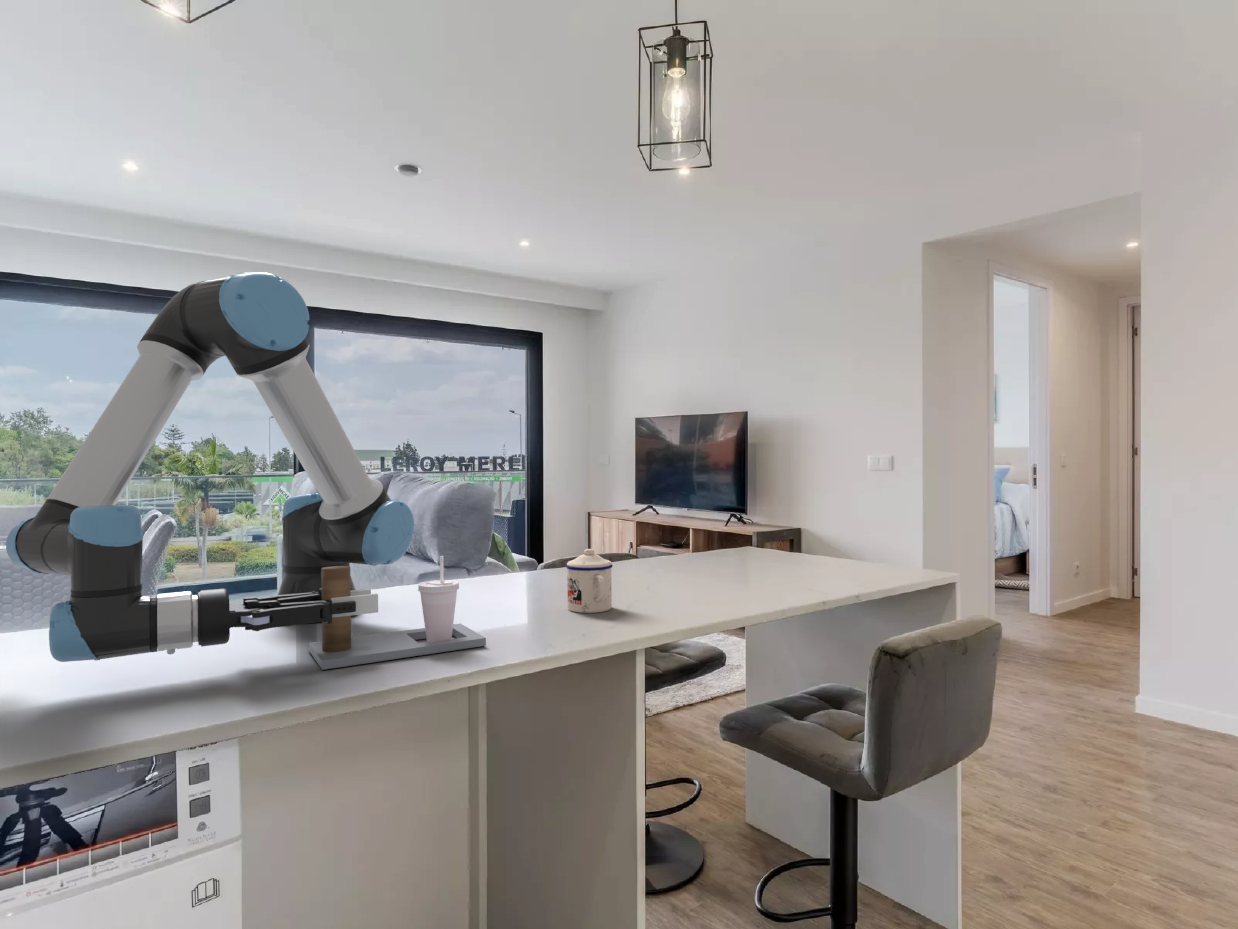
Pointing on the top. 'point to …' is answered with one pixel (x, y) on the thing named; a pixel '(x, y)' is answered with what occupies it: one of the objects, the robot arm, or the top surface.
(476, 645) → the cup holder tray
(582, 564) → the teacup with lid
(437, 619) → the smoothie
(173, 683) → the top surface
